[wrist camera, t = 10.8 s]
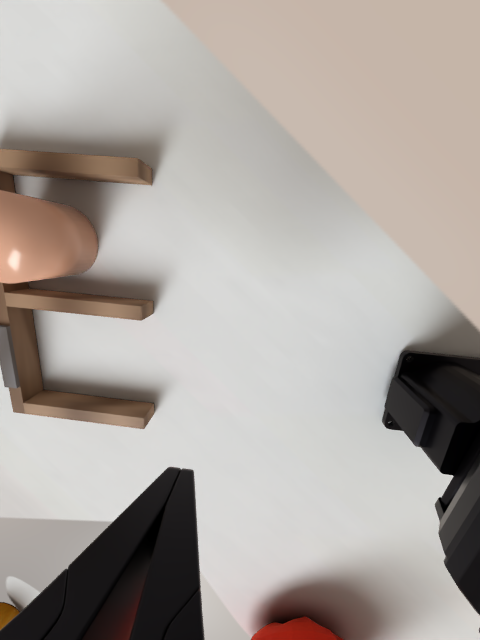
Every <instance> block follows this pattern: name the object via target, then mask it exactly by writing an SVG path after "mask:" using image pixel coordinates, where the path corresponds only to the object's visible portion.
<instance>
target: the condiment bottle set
mask: <svg viewBox="0 0 480 640" xmlns="http://www.w3.org/2000/svg"><path fill="white" fill-rule="evenodd" d="M19 613H20V612H19V611H18V609H17V608H16V607H15V606H13V605H11V604H8V603H5V602H0V630H1V629H2V628H3V627H4V626H5V625H6V624H8V623H9V622H10V621H11V620H12V619H13V618H14V617H15V616H17V615H18V614H19Z"/></svg>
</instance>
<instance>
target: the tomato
mask: <svg viewBox="0 0 480 640" xmlns="http://www.w3.org/2000/svg"><path fill="white" fill-rule="evenodd" d="M251 640H343V639H342V638H340V637H339V636H337V635H335V634H333V633H332V632H331V631H330V630H329V629H327V628H324V627H322V626H320V625H318V624H317V623H315V622H314V621H312V620H311V619H309V618H308V617H306V616H304V617H301V618H297V619H293V620H291V621H288V622H286V623H284V624H281V623H276V622H273V623H270V624H268V625H266V626H265V627H263V628H262V629H260V630H259V631H258V632H257V633H256V634H255V635H253V637H252V639H251Z"/></svg>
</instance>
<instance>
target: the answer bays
mask: <svg viewBox="0 0 480 640" xmlns="http://www.w3.org/2000/svg"><path fill="white" fill-rule="evenodd" d="M13 175H22V176H35V177H48V178H62V179H75V180H89V181H102V182H116V183H129V184H143V185H152V168H150V167H149V166H148V165H146V164H145V163H144V162H142V161H141V160H139V159H138V158H126V157H112V156H97V155H82V154H68V153H53V152H38V151H24V150H9V149H0V190H2V191H7V192H11V193H15V187H14V180H13ZM32 309H37V310H47V311H56V312H66V313H75V314H85V315H94V316H104V317H113V318H123V319H132V320H143V319H145V318H147V317H148V316H150V315H152V314H153V301H149V300H139V299H129V298H119V297H109V296H99V295H90V294H80V293H70V292H60V291H50V290H40V289H30V288H29V285H28V282H20V283H11V284H8V283H1V282H0V365H1V370H2V375H3V381H4V386H5V387H9V391H10V396H11V402H12V407H13V412H16V413H24V414H32V415H39V416H47V417H55V418H62V419H70V420H78V421H86V422H93V423H101V424H109V425H116V426H124V427H132V428H139V429H144V428H145V427H146V425H147V424H148V422H149V421H150V419H151V418H152V416H153V415H154V403H146V402H138V401H130V400H122V399H114V398H106V397H97V396H89V395H81V394H73V393H65V392H57V391H49V390H44V389H43V382H42V375H41V368H40V361H39V354H38V348H37V341H36V334H35V327H34V320H33V313H32Z"/></svg>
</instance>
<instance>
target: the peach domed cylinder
mask: <svg viewBox="0 0 480 640" xmlns="http://www.w3.org/2000/svg"><path fill="white" fill-rule="evenodd" d="M97 253H98V239H97V235H96V232H95V230H94V227H93V226H92V224H91V222H90V221H89V220H88V218H87V217H86V216H85V215H84V214H83V213H81V212H80V211H79V210H77V209H75V208H73V207H71V206H68V205H64V204H59V203H55V202H50V201H46V200H42V199H37V198H33V197H29V196H24V195H20V194H15V193H11V192H7V191H2V190H0V282H1V283H8V284H11V283H20V282H28V281H35V280H43V279H50V278H57V277H65V276H72V275H78V274H81V273H84V272H85V271H87V270H88V269H89V268H90V267H91V266H92V265H93V263H94V262H95V260H96V257H97Z"/></svg>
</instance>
